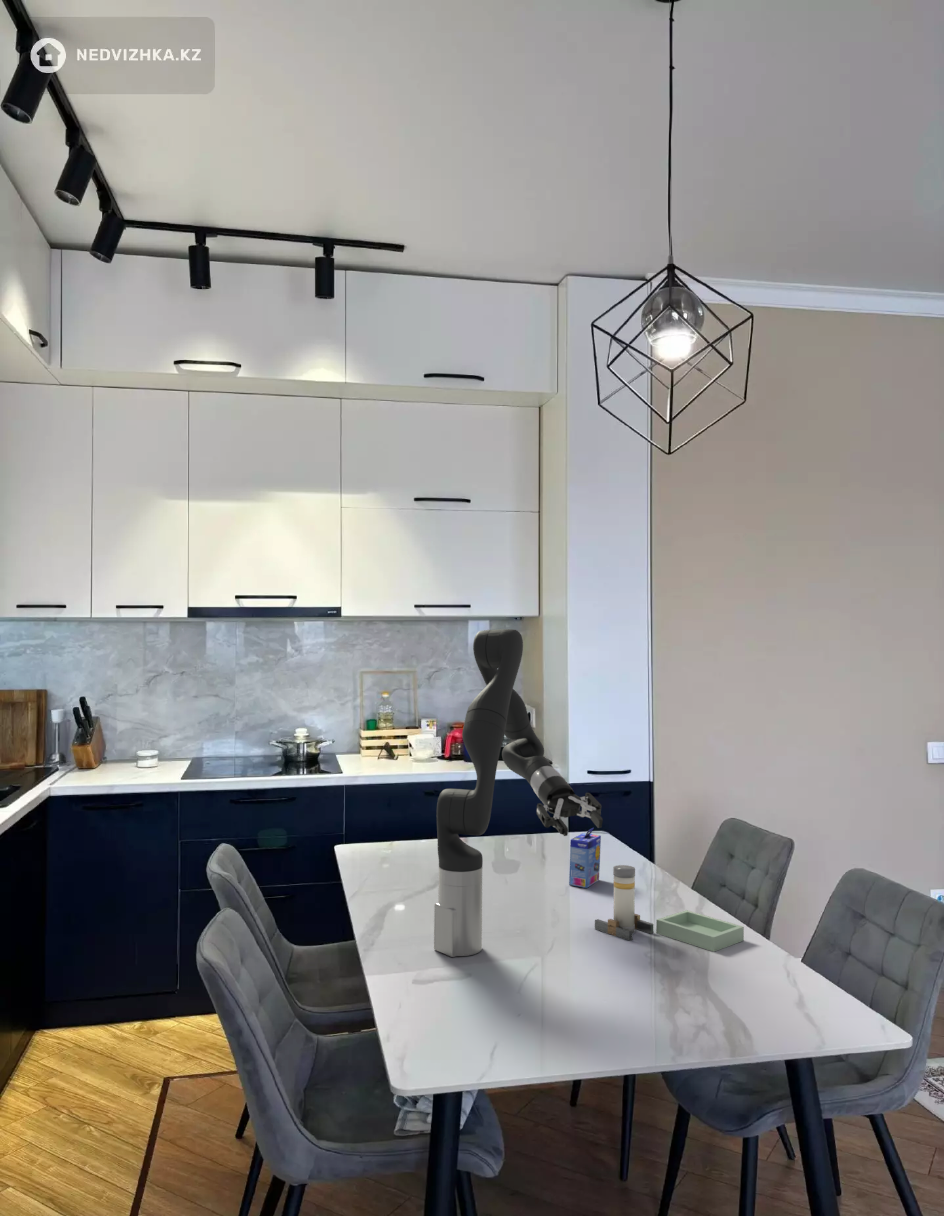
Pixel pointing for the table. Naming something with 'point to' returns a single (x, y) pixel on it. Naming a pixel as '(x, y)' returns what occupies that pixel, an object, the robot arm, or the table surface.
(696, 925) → the tray
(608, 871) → the table surface
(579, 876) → the ink cartridge box
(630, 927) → the cylinder
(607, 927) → the clip rails
